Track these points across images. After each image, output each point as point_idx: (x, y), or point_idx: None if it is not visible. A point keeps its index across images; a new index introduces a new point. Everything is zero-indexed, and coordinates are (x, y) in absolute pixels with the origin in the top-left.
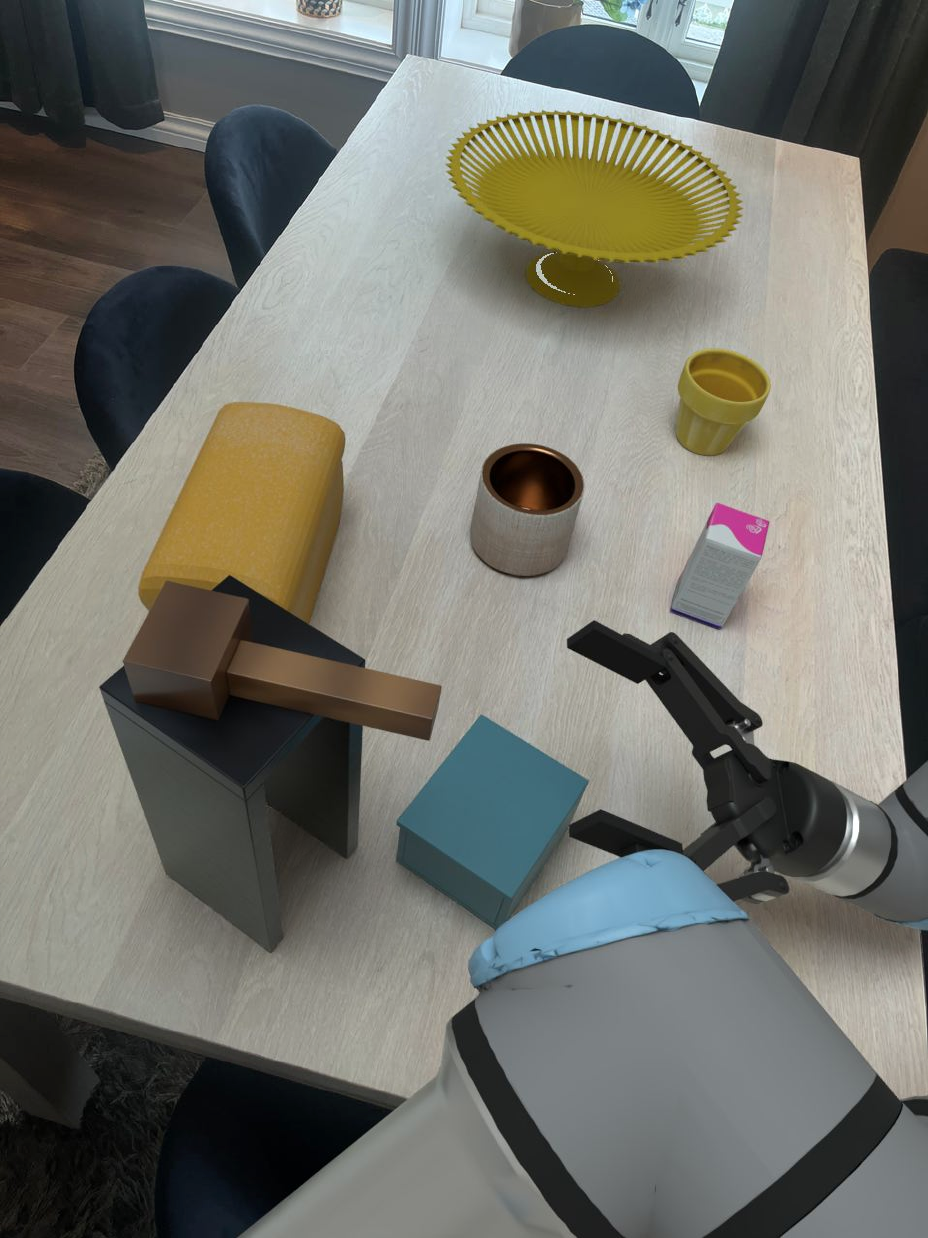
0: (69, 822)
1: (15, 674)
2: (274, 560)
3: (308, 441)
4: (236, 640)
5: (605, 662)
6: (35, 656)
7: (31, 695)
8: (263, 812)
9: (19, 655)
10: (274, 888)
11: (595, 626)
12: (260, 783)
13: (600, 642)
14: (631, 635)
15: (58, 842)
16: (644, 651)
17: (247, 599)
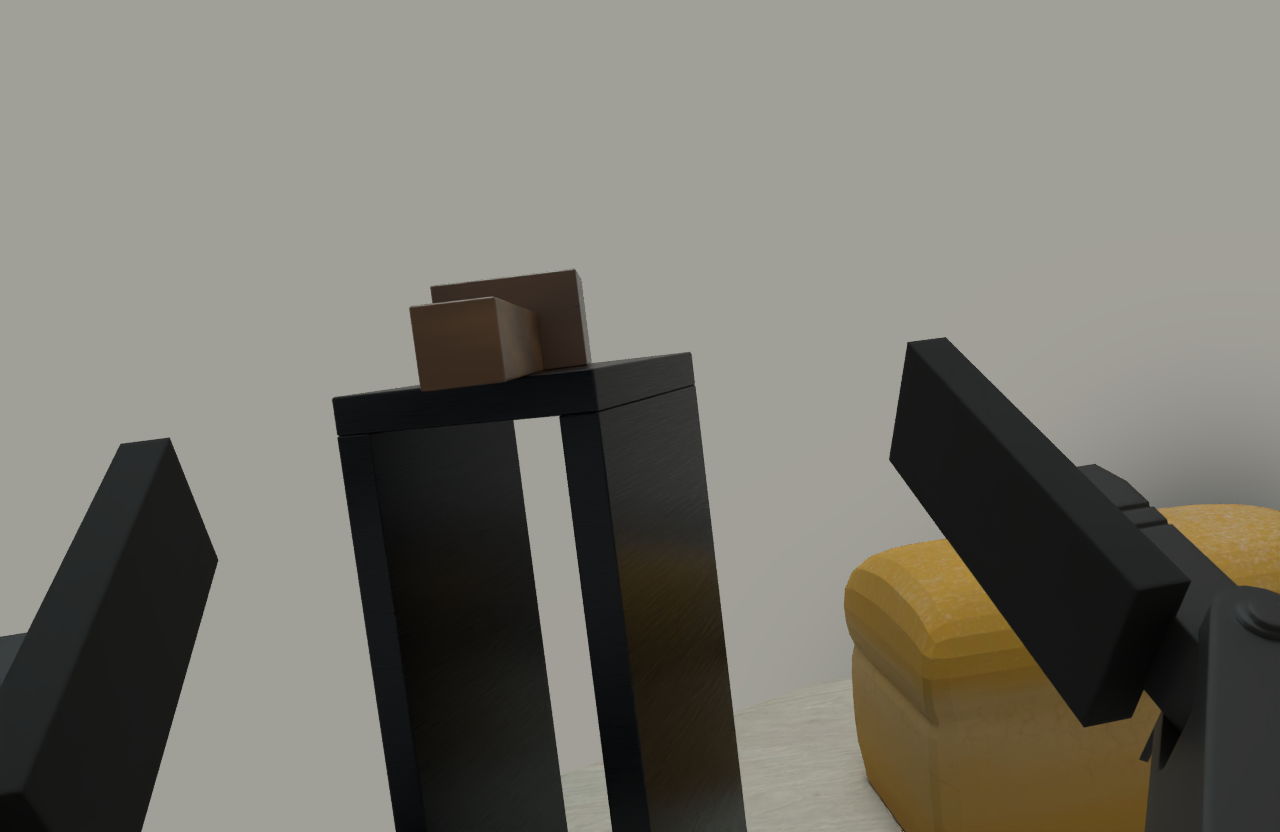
0: (599, 798)
1: (766, 703)
2: (979, 587)
3: (1255, 537)
4: (522, 300)
5: (970, 545)
6: (799, 703)
7: (748, 719)
8: (373, 517)
9: (791, 696)
10: (417, 812)
11: (924, 344)
12: (361, 426)
13: (931, 415)
14: (1127, 485)
15: (570, 801)
16: (1069, 488)
17: (573, 269)
